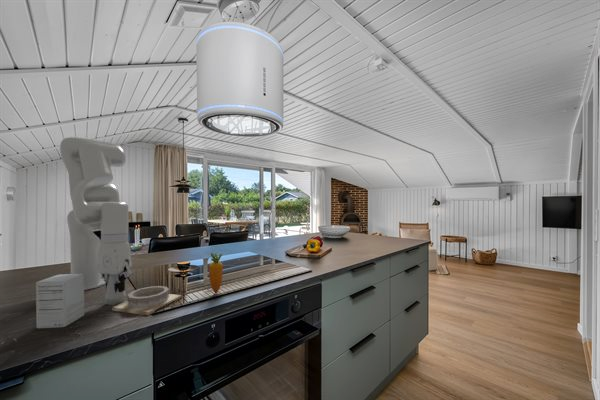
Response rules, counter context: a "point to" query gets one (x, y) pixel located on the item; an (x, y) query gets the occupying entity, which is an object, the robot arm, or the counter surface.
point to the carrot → (215, 272)
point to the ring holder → (146, 300)
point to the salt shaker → (113, 292)
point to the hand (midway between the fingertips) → (115, 293)
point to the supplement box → (59, 300)
